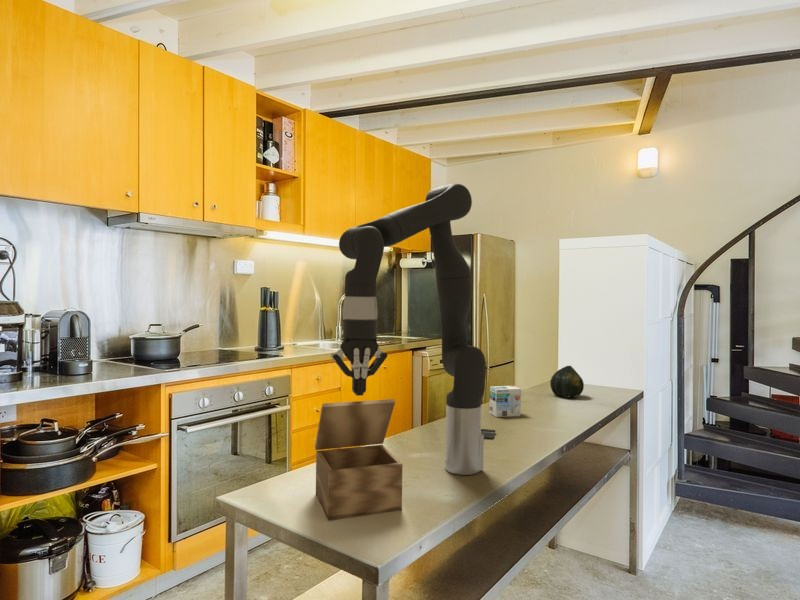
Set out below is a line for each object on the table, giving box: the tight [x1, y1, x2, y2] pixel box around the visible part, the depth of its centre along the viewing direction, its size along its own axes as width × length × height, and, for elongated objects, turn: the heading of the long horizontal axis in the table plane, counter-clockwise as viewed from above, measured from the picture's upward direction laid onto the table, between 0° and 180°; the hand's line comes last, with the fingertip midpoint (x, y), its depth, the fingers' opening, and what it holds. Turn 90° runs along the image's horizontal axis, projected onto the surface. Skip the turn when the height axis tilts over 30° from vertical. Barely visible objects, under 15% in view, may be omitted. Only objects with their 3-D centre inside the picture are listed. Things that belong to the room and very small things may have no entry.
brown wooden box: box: [315, 444, 403, 522], centre depth 110 cm, size 16×14×10 cm
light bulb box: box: [488, 385, 522, 418], centre depth 192 cm, size 11×7×11 cm, turn 104°
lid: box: [314, 398, 396, 451], centre depth 113 cm, size 16×14×1 cm
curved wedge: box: [481, 428, 496, 441], centre depth 164 cm, size 8×14×2 cm, turn 74°
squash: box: [549, 365, 585, 399], centre depth 229 cm, size 14×15×15 cm
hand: (358, 394), depth 110 cm, fingers closed
